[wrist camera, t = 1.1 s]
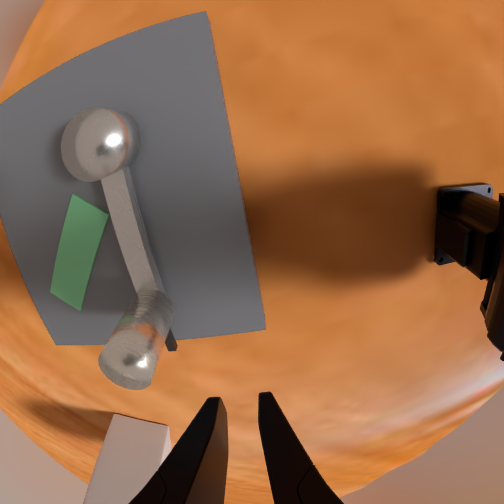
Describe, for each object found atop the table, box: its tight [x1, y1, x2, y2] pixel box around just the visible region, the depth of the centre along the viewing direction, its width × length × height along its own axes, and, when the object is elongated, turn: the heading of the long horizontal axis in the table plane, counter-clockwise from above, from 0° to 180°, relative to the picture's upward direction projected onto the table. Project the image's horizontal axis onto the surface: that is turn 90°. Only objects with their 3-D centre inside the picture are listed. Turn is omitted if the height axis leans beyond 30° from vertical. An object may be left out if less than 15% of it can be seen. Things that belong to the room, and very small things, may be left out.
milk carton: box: [83, 414, 172, 504], centre depth 22 cm, size 7×7×19 cm
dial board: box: [0, 11, 266, 345], centre depth 18 cm, size 20×22×2 cm
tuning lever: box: [61, 108, 178, 390], centre depth 15 cm, size 17×4×7 cm, turn 10°
